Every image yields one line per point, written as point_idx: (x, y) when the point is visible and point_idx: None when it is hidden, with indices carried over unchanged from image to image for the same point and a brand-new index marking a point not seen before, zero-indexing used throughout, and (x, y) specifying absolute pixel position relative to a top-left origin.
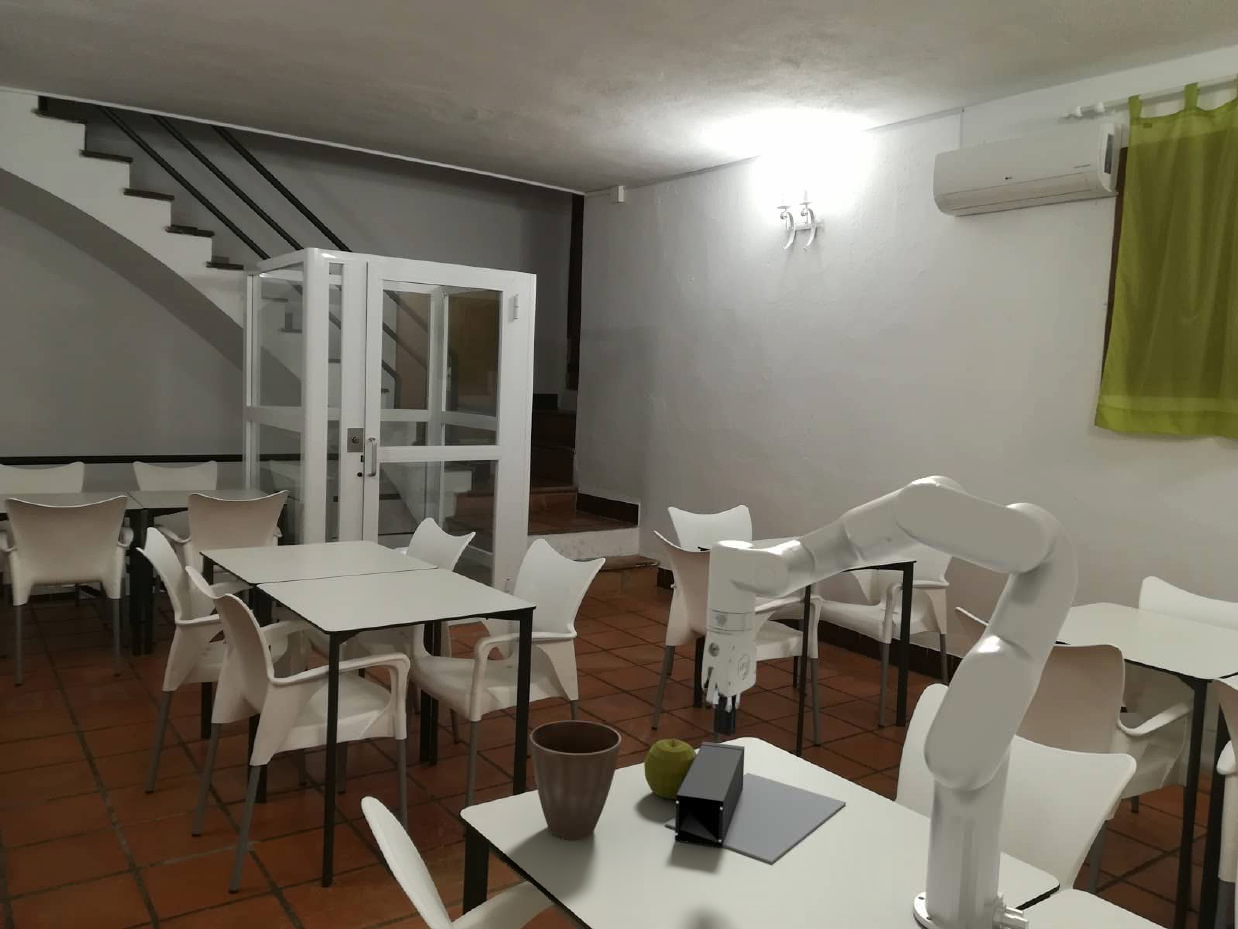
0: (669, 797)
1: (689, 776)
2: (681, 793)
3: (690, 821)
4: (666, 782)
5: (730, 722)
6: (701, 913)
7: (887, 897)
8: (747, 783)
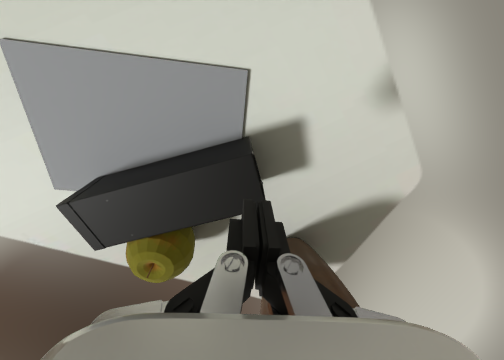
0: None
1: (206, 218)
2: None
3: None
4: (191, 235)
5: (274, 225)
6: (386, 96)
7: None
8: (81, 178)
